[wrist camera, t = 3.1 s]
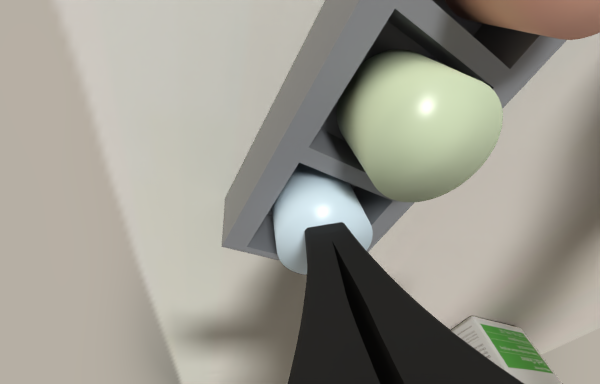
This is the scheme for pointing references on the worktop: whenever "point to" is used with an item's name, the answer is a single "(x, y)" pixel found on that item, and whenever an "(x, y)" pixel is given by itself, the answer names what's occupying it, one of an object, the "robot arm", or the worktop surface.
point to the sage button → (417, 124)
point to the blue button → (314, 213)
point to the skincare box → (507, 349)
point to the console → (332, 82)
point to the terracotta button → (534, 16)
